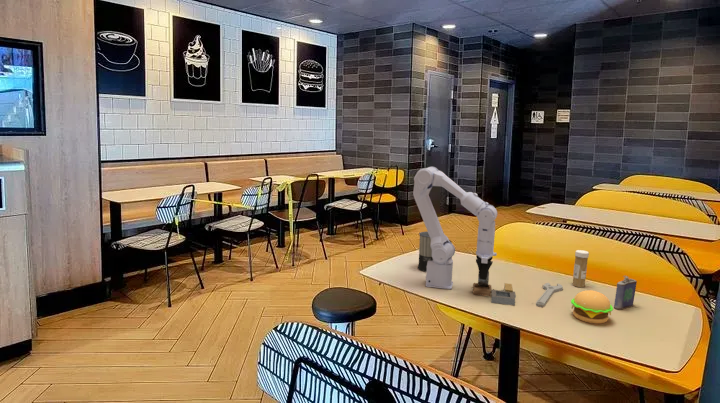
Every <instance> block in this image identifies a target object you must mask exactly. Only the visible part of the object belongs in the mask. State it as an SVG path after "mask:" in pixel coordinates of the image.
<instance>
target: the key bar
mask: <svg viewBox="0 0 720 403" xmlns="http://www.w3.org/2000/svg"><path fill="white" fill-rule="evenodd" d="M503 290H504V291H509V292H513V291H514V290H513V284H512V283H505V282H504V287H503Z"/></svg>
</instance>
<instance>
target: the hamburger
mask: <svg viewBox="0 0 720 403" xmlns="http://www.w3.org/2000/svg"><path fill="white" fill-rule="evenodd" d="M570 303H571V309H572V313H573V316H574V317H575V318H577V319H578V320H580V321H582V322H584V323H590V324H604V323H607V321H608V320H609V316H611V315H612V311H613V310H614V306H613V305H612V304H611V302H610V299H609V298H608V297H607V296H606V295H605V294H603V293H602V292H598V291H597V290H588V289H587V290H583V291H580V292H578V293H577V294H576V295H575V296H574V298H572V299H571V300H570Z"/></svg>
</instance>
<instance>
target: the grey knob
mask: <svg viewBox="0 0 720 403" xmlns="http://www.w3.org/2000/svg"><path fill="white" fill-rule="evenodd" d="M489 279H490V270H489V271H488V275H487V278H486V280H482V279H480V277H479V273H478V276H477V283H478V286H480V287H488V284H489V281H490V280H489Z"/></svg>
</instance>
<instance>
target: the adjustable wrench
mask: <svg viewBox="0 0 720 403" xmlns="http://www.w3.org/2000/svg"><path fill="white" fill-rule="evenodd" d="M563 288H564V286H563V285H562V284H561V283H556V285H551V283H550V282H546V283H544V284H542V289H543V290H545V291H544V292H543V293H542V295H541V296H540V297H539V298H538V299H537V300H536V302H535V306H536V307H539V308H544V307H545V306H546V304H547V303H548V302H549V300H550V299H551V297H552V296H553V294H555V293H558V292H562V291H563Z"/></svg>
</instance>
